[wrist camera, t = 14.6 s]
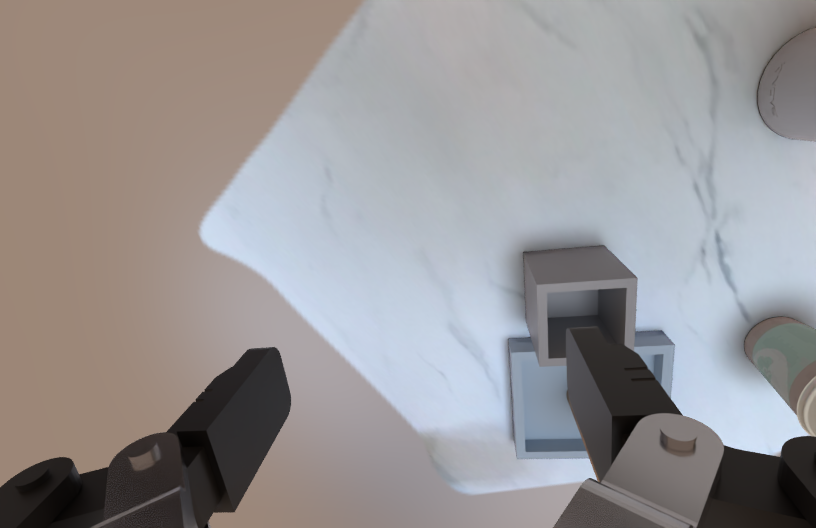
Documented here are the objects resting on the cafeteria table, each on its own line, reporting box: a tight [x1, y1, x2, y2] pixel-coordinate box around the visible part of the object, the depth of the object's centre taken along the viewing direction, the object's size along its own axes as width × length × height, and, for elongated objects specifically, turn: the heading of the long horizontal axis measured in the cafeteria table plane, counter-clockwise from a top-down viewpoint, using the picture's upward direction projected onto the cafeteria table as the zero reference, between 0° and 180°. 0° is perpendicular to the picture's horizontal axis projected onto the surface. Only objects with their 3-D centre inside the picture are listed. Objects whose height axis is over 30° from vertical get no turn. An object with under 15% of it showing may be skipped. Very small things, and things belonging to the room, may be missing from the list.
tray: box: [508, 331, 675, 459], centre depth 49 cm, size 16×14×3 cm
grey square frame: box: [523, 246, 637, 367], centre depth 42 cm, size 8×8×9 cm
